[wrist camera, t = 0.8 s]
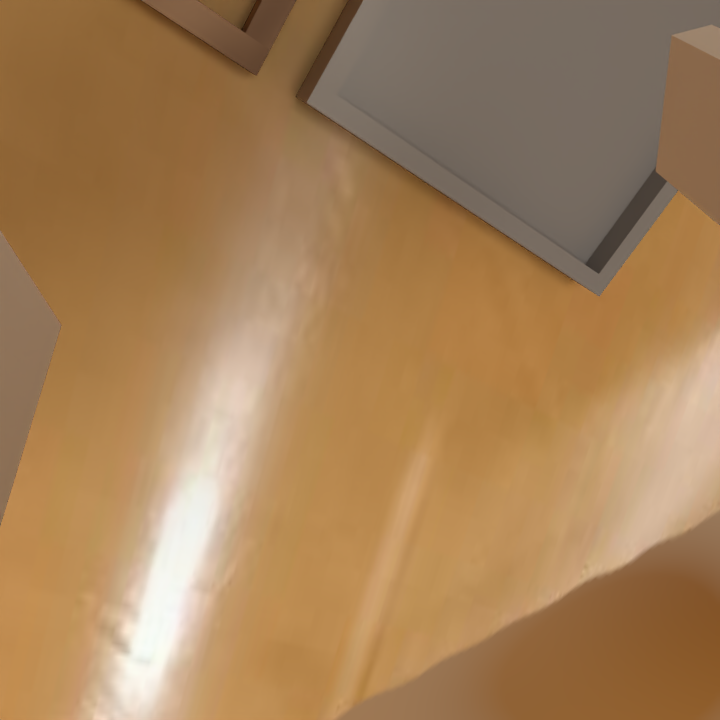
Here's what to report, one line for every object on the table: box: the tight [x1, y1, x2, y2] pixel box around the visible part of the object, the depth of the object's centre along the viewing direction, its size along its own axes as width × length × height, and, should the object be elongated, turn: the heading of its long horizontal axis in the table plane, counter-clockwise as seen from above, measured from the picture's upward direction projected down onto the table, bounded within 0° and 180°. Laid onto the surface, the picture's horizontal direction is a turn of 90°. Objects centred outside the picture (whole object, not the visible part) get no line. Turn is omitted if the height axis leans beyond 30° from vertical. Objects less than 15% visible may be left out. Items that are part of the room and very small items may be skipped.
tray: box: [296, 0, 720, 296], centre depth 32 cm, size 20×19×3 cm
